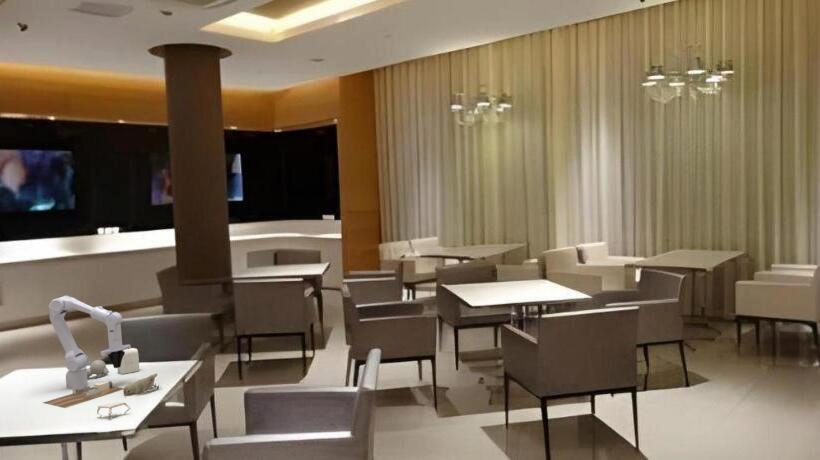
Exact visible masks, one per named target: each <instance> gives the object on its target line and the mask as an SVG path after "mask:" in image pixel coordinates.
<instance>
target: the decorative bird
mask: <svg viewBox="0 0 820 460" xmlns="http://www.w3.org/2000/svg"><path fill="white" fill-rule="evenodd" d="M157 376H158V373H153V374H151V375H149V376H147V377H144V378H141V379H138V380H135V381H134V382H130V383H128V384H126V385H125V386H124V389H123V393H122V394H123V396H124V399H126V398H127V397H128V396H129V395H131V394H135V395H141V394H143V393H145V392H147V391H149V390H151V388H154V389H156V390H157V391H158V390H159V389H160V384H158V386H157V383H155V378H156V377H157Z"/></svg>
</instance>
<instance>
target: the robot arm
mask: <svg viewBox="0 0 820 460" xmlns="http://www.w3.org/2000/svg"><path fill="white" fill-rule="evenodd" d="M48 309H49V321H50V324H51V325H52V327H53V329H54V331H55V334H56V335H57V337H58V340H59V342H60V344H61V346H62V347H63V351H65V352H64V353H65V356H64V360H65V366H66V367H65V368H66V369H67V371H66V374H65V383H66V389H67V388H69V389H71V390H75V389H78V388H82V387H85V386H89V383H88V379H87V365H88V364H89V362H90V361H89V357H88V355H86V354H85V352H84V351H83V350H82V349H80V348H79V347H78V345H77V343H76V341H75V339H74V337H73V334H72V332H71V331H70V328H69V326H68V324H67V322H66V320H65V316H66V313H67V312H68V311H69V310H77V311H80V312H83V313H86V314H89V316H90V317H91V319H95V320H96V321H99V322H102V323H104V324H105V326H106V328H107V339H108V348H106V349H104V350H101V351H100V356H102V357H105V356H107V357H108V358H109V359H110V361H111V364H112V366H113V368H114V369H118V367H121V362H122V358H123V356H124V354H125V351H123V350H126V349H131V348H132V346H131V344H123V340H122V339H123V338H122V326H121V324H122V321H123V316H122V314H121V313H119V312H118V311H113V310H107V309H105V308H103V306H101V305H100V306H95V307H94V306H91V305H89V304H86V303H85V302H82V301H80V300H78V299H77V298H75V297H74V296H73V297H71V296H70V295H63V296H61V297H57V298H54V299H52V300H51V301H50V303H49V304H48Z"/></svg>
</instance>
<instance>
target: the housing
mask: <svg viewBox="0 0 820 460" xmlns="http://www.w3.org/2000/svg"><path fill="white" fill-rule="evenodd" d="M90 388H91V386H90V385H88V386H85V387H82V388H78V389H72V394H73V396H79V395H82V394H83V398H86V399H87V398H90V397H93V396H97V395H100V394H101V389H100V388H95V389H92V390H91V389H90Z"/></svg>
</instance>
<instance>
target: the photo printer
mask: <svg viewBox="0 0 820 460" xmlns="http://www.w3.org/2000/svg"><path fill="white" fill-rule="evenodd" d="M123 351H125V354H124V356H123V358H122V362H121V367H118V368H117V375H125V374H130V373H131V374H132V373H137V372H140V359H139V358H140V357H139V356H140V355H139V351H138V349H137V348H135V347H131V349H126V350H123Z"/></svg>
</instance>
